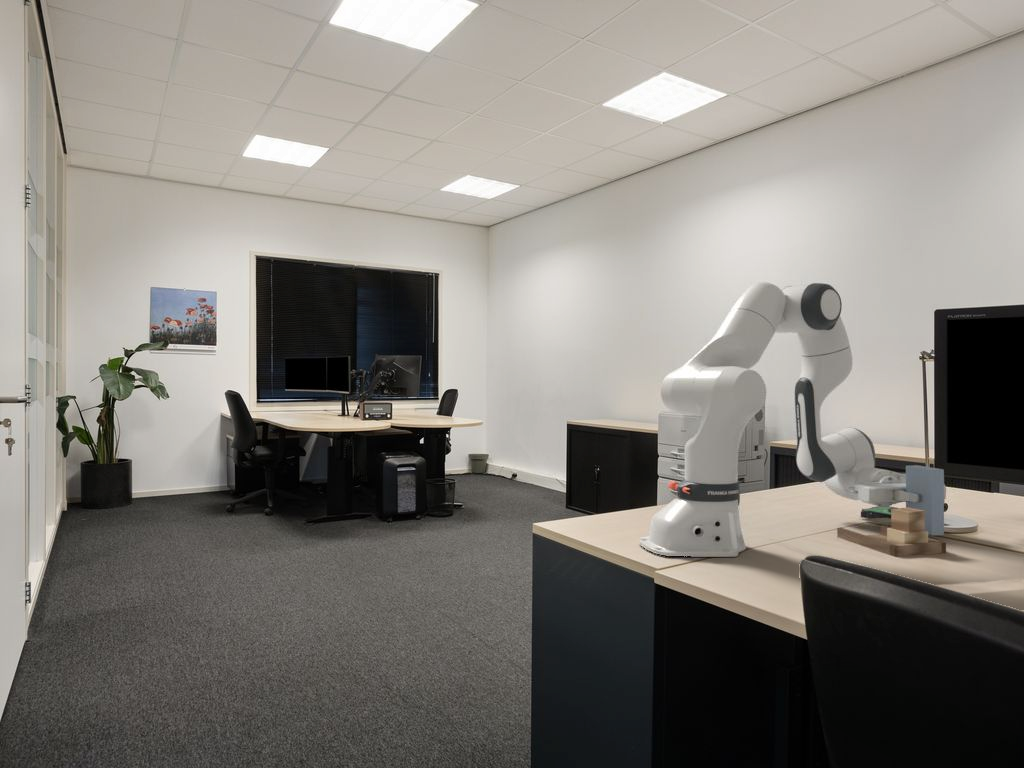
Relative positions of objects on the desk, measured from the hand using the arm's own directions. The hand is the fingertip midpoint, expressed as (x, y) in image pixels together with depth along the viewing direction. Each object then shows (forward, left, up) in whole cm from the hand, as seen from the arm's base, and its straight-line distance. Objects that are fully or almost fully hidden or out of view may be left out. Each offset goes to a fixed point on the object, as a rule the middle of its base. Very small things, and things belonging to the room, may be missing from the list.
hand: (927, 497), depth 140 cm
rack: (-13, -3, -10) cm, 17 cm away
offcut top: (-12, -7, -5) cm, 15 cm away
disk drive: (+13, +23, -11) cm, 29 cm away
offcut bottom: (-12, -8, -9) cm, 17 cm away
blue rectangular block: (0, +1, -7) cm, 8 cm away
